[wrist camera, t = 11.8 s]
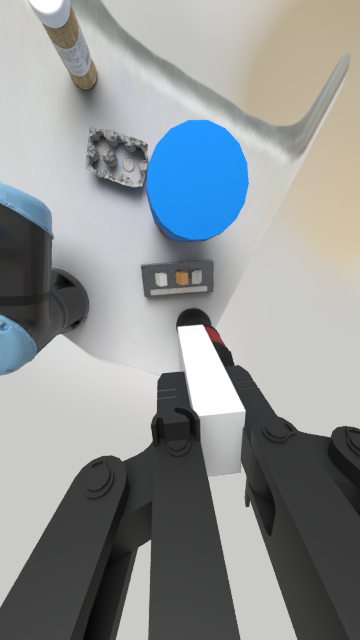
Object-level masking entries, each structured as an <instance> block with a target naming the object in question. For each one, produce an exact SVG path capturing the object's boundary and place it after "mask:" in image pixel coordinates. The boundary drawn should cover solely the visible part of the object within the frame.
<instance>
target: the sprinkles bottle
mask: <svg viewBox="0 0 360 640" xmlns="http://www.w3.org/2000/svg"><path fill="white" fill-rule="evenodd" d="M28 2H29V3H30V5H31V7H32V9H33V11H34V13H35V14H36V16H37V17H38V19H39V20H40V21H41V22H42V24H43V26H44V27H45V29H46V31H47V33H48V35H49V37H50V39H51V41H52V43H53V45H54V47H55V49H56V51H57V52H58V54H59V56H60V58H61V60H62V61H63V63H64V65H65V67H66V68H67V70H68V71H69V73H70V76H71V78H72V80H73V81H74V83H75V84H76V85H77V86H78V87H80V88H82V89H90V88H92V87H93V86H94V84H95V83H96V78H97V72H96V67H95V65H94V62H93V61H92V59H91V56H90V52H89V49H88V47H87V44H86V41H85V39H84V36H83V33H82V31H81V28H80V25H79V23H78V20H77V18H76V16H75V14H74V11H73V9H72V6H71V4H70V0H28Z"/></svg>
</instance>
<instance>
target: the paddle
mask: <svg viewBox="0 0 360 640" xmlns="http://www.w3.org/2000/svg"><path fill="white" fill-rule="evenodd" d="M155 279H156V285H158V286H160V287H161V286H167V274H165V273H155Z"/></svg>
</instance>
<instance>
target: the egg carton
mask: <svg viewBox="0 0 360 640" xmlns="http://www.w3.org/2000/svg"><path fill="white" fill-rule="evenodd" d="M89 131H90V134H89V139H88V148H87V155H86V156H87V157H86V158H87V161H86V169H87V170H88V171H90V172H92V173H94V174H96V175H97V176H98V177H100V178H107V179H109V180H112V181H115V182H117V183H120V184H122V185H126V186H130V187H135V188H138V187H139V186H143V183H144V180H145V170H146V169H147V165H148V162H147V160H148V157H147V149H148V144H147V143H145V142H143V141H141V140H138V139H135V138H132V137H131V138H130V137H127V136H125V135H123V134H119V133H116V132H114V131H112V130H102V129H95V128H90V130H89ZM101 136H105V138H106V140H107V142H108V143H109V145H111V146H113V147H114V146H117V145H118V144H119V142H120V143H124V144H125V147H126V149H127V150H128V151H129V152H134V151H135V150H136V149H137V147H138V148H141V149H142V150H143V153H144V155H145V157H146V160H143V161H141V163H140V165H139V169H140V173H141V175H142V176H143V177H144V178H143V179H140V180H139V181H138V182H137V183H136V184H133V183H132V182H131V180H130V178H129V177H128V176H126V175H123V174H122V175H121V176H120V177H119V180H117V179H116V178H114V176H113V175H112V173H111V172H110V171H109V170H107V169H102V170H101V171H100V173H98V172H97V170H96V169H94V168H93V167H92V164H93V163H94V162H96V161H97V160H98V159H99V152H98V150H97V149H96V148H95V146H94V141H98V140H99V139H100V137H101ZM102 157H103V160H104V161H105V163H106V164H107V165H108V166H109V167H114V166H115V165H116V164H117V158H116V156H115V153H114V151H113V150H111V149H108V148H106V149H105V150H104V151H103V153H102ZM123 167H124V169H125V170H126V171H127V172H132V171H133V170H134V168H135V165H134V162H133V161H132V160H131V159H129V158H127V159H125V160H124V161H123Z"/></svg>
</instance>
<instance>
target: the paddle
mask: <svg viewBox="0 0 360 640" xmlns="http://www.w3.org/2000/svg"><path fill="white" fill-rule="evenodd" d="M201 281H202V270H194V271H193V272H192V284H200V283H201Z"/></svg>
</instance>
